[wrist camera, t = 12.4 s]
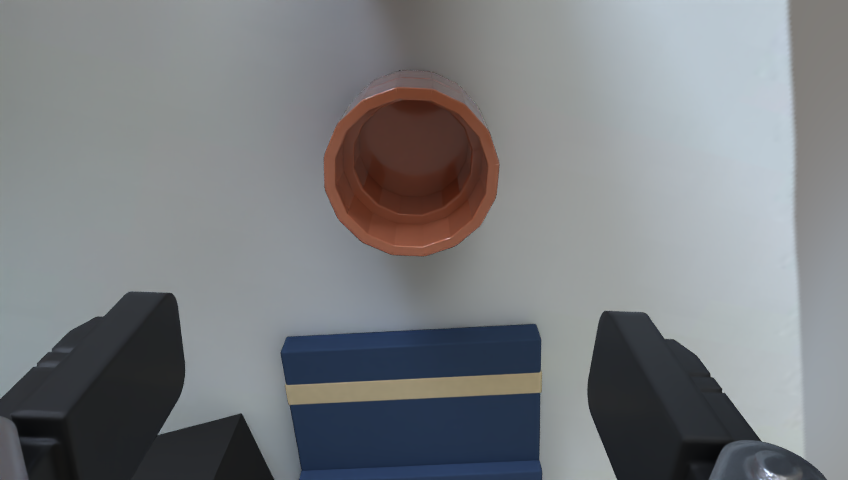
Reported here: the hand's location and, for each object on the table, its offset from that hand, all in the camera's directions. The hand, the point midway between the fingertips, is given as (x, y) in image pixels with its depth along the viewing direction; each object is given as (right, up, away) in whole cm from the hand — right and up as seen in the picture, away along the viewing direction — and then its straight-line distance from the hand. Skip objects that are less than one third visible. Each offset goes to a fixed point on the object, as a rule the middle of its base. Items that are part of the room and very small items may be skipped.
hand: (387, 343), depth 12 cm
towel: (+1, -9, +20) cm, 22 cm away
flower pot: (0, +6, +14) cm, 15 cm away
